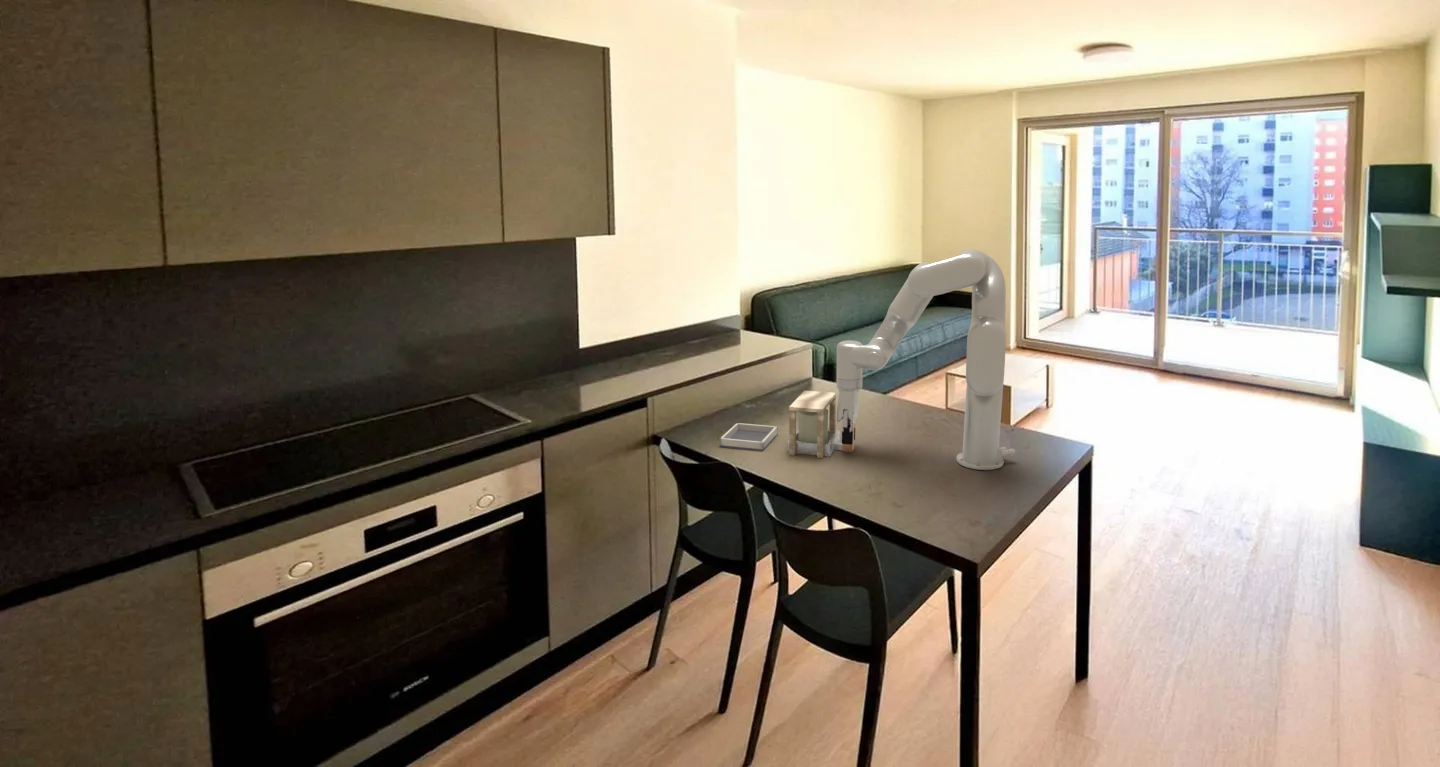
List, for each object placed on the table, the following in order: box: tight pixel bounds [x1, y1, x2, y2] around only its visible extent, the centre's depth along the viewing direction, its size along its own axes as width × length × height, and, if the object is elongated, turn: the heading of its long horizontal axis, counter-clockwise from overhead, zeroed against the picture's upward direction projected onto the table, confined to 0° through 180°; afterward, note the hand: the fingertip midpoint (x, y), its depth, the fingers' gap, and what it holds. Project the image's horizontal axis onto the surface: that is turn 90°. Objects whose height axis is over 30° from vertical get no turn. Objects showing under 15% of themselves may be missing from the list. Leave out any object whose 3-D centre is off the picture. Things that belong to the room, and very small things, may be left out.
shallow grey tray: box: [786, 419, 856, 457], centre depth 225 cm, size 18×14×10 cm
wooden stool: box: [788, 390, 837, 459], centre depth 225 cm, size 10×18×15 cm, turn 159°
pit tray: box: [719, 422, 779, 452], centre depth 234 cm, size 14×16×3 cm
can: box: [797, 408, 829, 444], centre depth 225 cm, size 9×9×12 cm
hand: (848, 441), depth 222 cm, fingers closed on shallow grey tray, 3 cm apart
